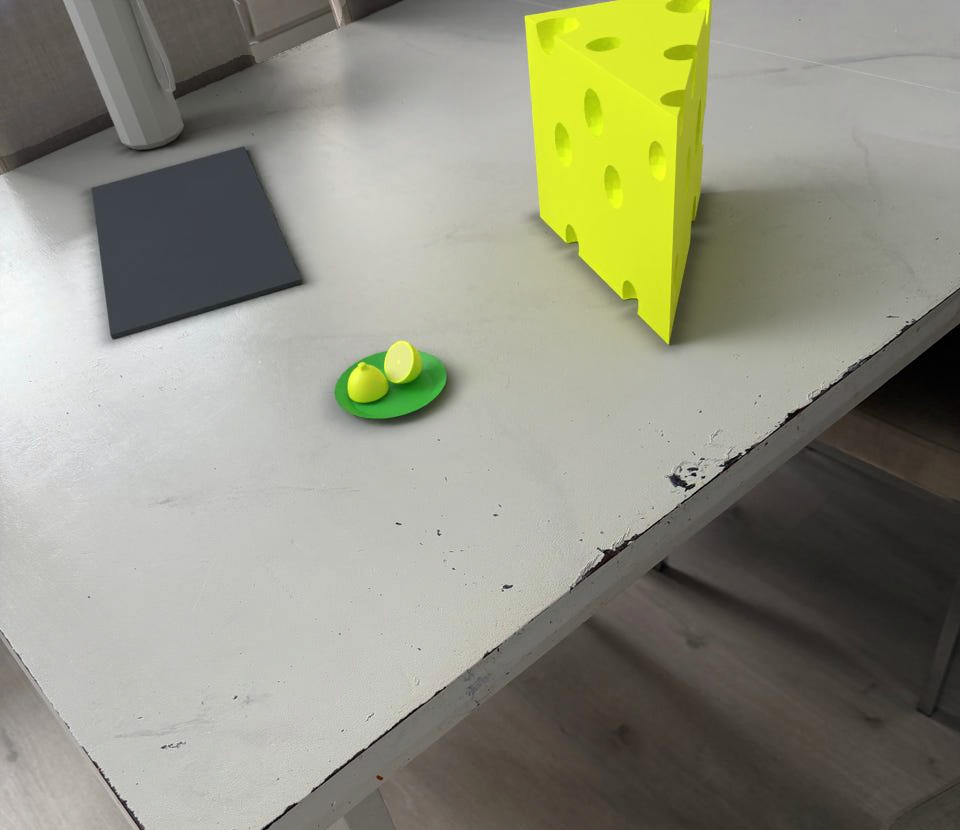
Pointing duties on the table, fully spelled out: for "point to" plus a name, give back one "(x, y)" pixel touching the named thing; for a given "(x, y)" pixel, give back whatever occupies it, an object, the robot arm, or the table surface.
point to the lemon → (390, 382)
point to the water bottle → (129, 69)
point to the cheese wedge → (623, 138)
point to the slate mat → (187, 242)
